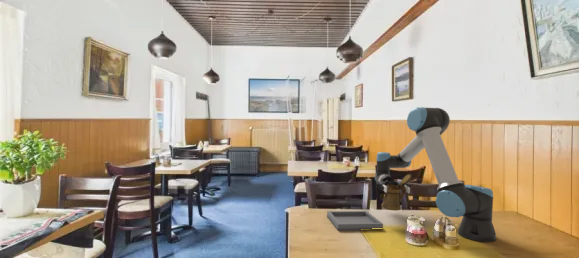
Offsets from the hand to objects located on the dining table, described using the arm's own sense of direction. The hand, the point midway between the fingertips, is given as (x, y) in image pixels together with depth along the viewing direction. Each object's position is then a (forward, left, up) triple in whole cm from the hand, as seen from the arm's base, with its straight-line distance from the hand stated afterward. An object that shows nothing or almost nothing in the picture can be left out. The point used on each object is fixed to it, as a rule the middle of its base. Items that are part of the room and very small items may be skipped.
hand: (397, 190), depth 159 cm
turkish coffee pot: (+4, -1, -10) cm, 11 cm away
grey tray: (+8, +19, -19) cm, 28 cm away
